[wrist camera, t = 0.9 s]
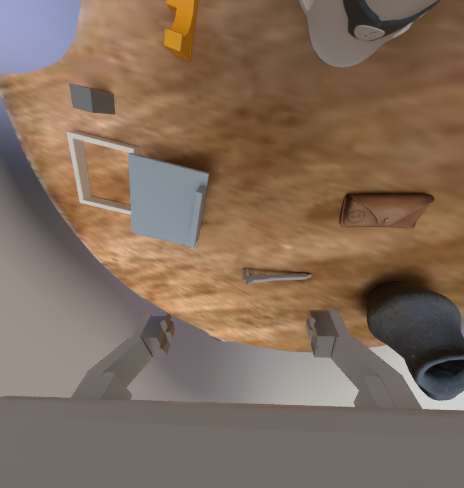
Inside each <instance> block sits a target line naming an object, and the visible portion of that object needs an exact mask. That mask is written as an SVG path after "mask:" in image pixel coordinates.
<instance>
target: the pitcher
mask: <svg viewBox="0 0 464 488" xmlns="http://www.w3.org/2000/svg"><path fill="white" fill-rule="evenodd" d="M367 301H368V304H367V323H368V327H369V330H370V331H371V333H372V334H373V335H374V336H375V337H376V338H377V339H379V340H380V341H381V342H383V343H385V344H387V345H388V346H389V347H391V348H392V349H393V350H394V351H396V352H397V353H398V354H399V355H401V356H402V357H403V358H404V359H405V362H406V364H407V366H408V369H409V371H410V373H411V375H412V377H413V379H414V380H415V382H416V383H417V385H418V386H419V387H420V389H421V390H422V391H423V392H424V393H425V394H426V395H427V396H428V397H430V398H432V399H434V400H450V399H452V398H454V397H456V396H457V395H458V394H460V393H461V392H463V391H464V338H463V335H462V333H461V315H460V312H459V310H458V308H457V307H456V306H455V305H454V304H453V303H452V302H451V301H450V300H449V299H448V298H446V297H445V296H443V295H441V294H438V293H436V292H433V291H429V290H425V289H421V288H419V287H416V286H412V285H409V284H406V283H403V282H391V283H387V284H384V285H382V286H380V287H378V288H376V289H375V290H374V291H372V292H371V293H370V295H369V297H368V299H367Z"/></svg>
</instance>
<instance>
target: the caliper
mask: <svg viewBox="0 0 464 488" xmlns="http://www.w3.org/2000/svg"><path fill="white" fill-rule="evenodd" d="M249 274H250V276H247V274H246V271H245V269H243V280H244V282H246V283H247V285H248V282H249V283H250V284H251V285H252V282H268V281H272V280H299V279H307V278H310V277H311V274H309V275H307V274H306V273H305V274H278V275H266V273H263V274H262V273H260V274H254V272H253V271H252V270H251V269H249Z"/></svg>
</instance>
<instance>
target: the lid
mask: <svg viewBox="0 0 464 488" xmlns="http://www.w3.org/2000/svg"><path fill="white" fill-rule="evenodd" d="M128 156H129V178H130V200H131V222H132V233H135V234H139V235H144V236H148V237H152V238H157V239H161V240H165V241H170V242H174V243H178V244H183V245H187V246H188V247H191V248H194V247H196V248H197V246H198V240H199V234H200V228H201V222H202V216H203V210H204V203H205V197H206V191H207V185H208V179H209V173H208V172H204V171H200V170H196V169H192V168H188V167H184V166H180V165H176V164H172V163H169V162H165V161H161V160H157V159H153V158H149V157H145V156H141V155H137V154H133V153H129V154H128Z"/></svg>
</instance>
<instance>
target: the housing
mask: <svg viewBox="0 0 464 488" xmlns="http://www.w3.org/2000/svg"><path fill="white" fill-rule="evenodd" d="M67 136H68V141H69V147H70V152H71V157H72V162H73V168H74V173H75V178H76V184H77V189H78V194H79V200H80V203H83V204H87V205H92V206H96V207H100V208H104V209H109V210H113V211H117V212H121V213H126V214H130V215H131V206H130V205H126V204H122V203H118V202H114V201H110V200H105V199H101V198H97V197H93V196H91V189H90V183H89V176H88V170H87V163H86V157H85V150H84V143H83V141H86V142H90V143H94V144H97V145H101V146H105V147H109V148H113V149H117V150H121V151H125V152H129V153H133V154H137V155H140V147H137V146H133V145H129V144H125V143H121V142H118V141H114V140H110V139H106V138H102V137H98V136H94V135H90V134H87V133H83V132H79V131H69V132H67Z"/></svg>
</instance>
